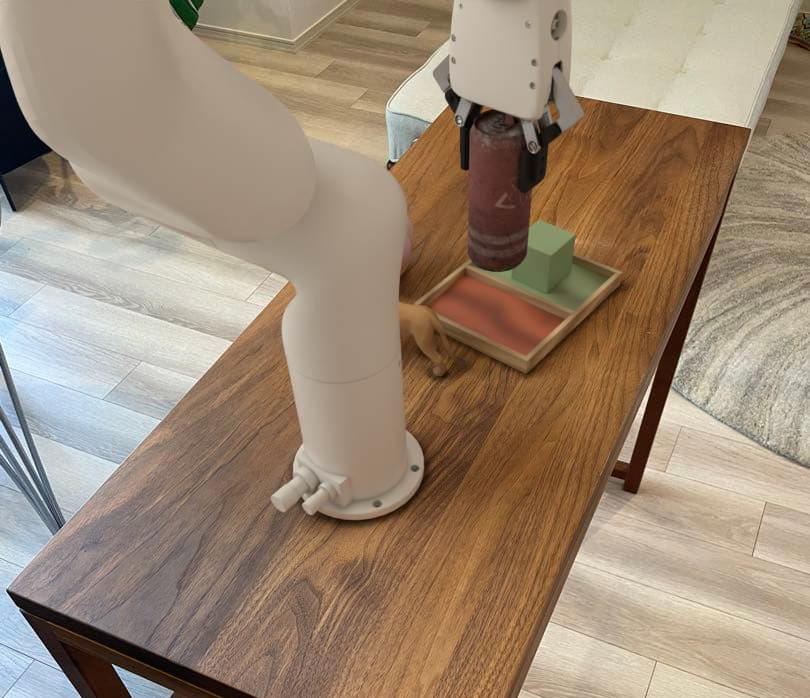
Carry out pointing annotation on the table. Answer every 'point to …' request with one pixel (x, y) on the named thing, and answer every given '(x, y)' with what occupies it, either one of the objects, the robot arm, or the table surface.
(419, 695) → the table surface
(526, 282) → the green block
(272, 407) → the table surface
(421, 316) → the lion figurine
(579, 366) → the table surface
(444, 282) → the sorting tray
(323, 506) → the robot arm
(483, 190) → the can
